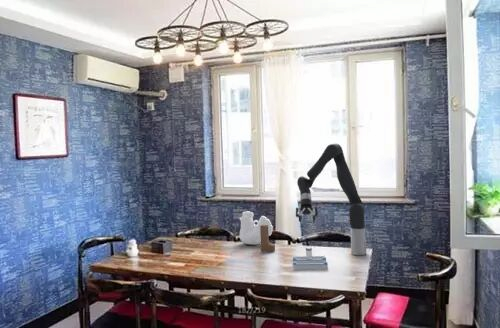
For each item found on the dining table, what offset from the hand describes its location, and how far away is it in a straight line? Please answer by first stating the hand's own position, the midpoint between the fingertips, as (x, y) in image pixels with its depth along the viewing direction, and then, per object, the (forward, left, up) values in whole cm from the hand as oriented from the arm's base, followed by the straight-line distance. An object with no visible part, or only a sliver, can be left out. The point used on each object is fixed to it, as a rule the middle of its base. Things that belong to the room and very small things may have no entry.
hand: (307, 221), depth 268 cm
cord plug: (0, +12, -23) cm, 26 cm away
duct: (0, +16, -23) cm, 28 cm away
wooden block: (+27, -16, -23) cm, 39 cm away
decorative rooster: (+37, -36, -23) cm, 57 cm away
